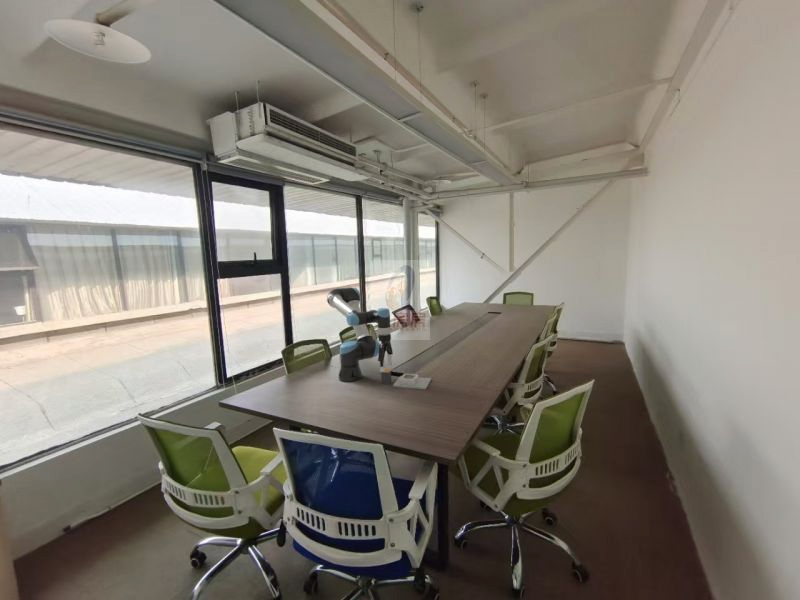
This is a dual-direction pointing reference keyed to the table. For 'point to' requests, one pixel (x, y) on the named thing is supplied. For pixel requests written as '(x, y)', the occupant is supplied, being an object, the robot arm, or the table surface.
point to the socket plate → (412, 381)
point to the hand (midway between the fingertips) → (386, 368)
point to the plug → (386, 376)
